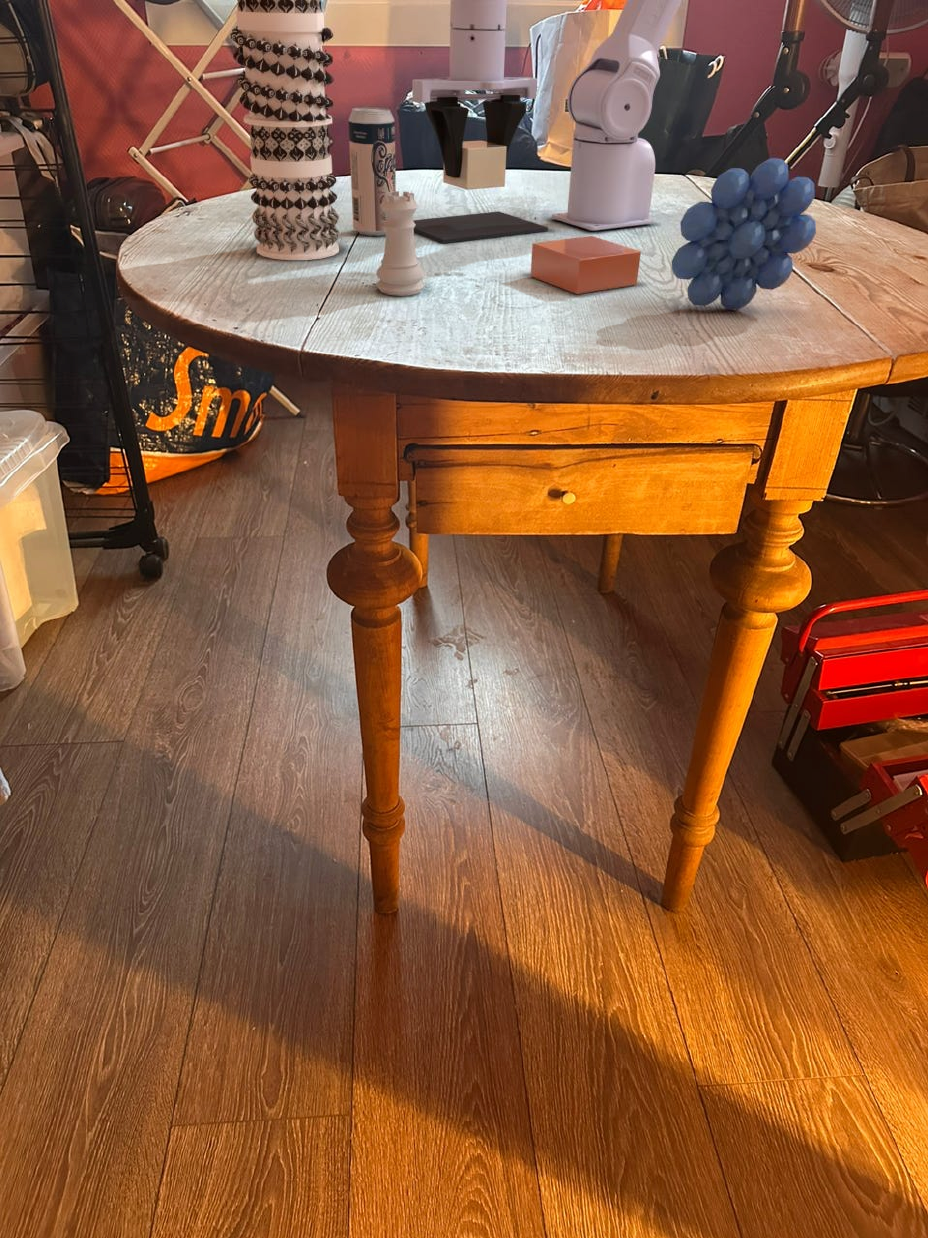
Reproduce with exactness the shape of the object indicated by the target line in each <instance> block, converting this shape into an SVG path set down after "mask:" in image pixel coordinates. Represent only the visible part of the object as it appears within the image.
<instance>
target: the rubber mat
mask: <svg viewBox="0 0 928 1238" xmlns="http://www.w3.org/2000/svg"><path fill="white" fill-rule="evenodd" d="M413 222H414V223H415V224H416V225H415V227H414V233H415V234H419V235H421V236H424V237H426V238H428V239H431V240H433V241H436V242H438V243H441V244H448V243H449V244H450V243H458V242H467V241H475V240H483V239H490V238H491V239H493V238H498V237H499V238H500V237H509V236H516V235H518V236H519V235H525V234H533V233H534V234H535V233H542V232H548V230H549V227H548V226H545V225H542V224H540V223H536V222H532V221H530V220H526V219H524V218H521V217H517V216H514V215H512V214H508V213H505V212H502V211H487V212H480V213H470V214H461V215H452V216H451V215H450V216H440V217H434V218H433V217H432V218H431V217H430V218H424V219H415V220H414V219H413Z"/></svg>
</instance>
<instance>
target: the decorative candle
mask: <svg viewBox="0 0 928 1238" xmlns="http://www.w3.org/2000/svg"><path fill="white" fill-rule="evenodd" d="M236 1H237V10H236V11H235V15H236V16H235V17H236V26H235V27H234V28H232V30H231V32H230V35H229V36H230V39H231V40H232V41H233V42H234V43H236V44H237V45H238V47H237V48H236V49H235V50H234V52H233V53H232V58H233V59H234V60H235V61H236V63H237V64H239V65H240V66H242V67H244V69H243V70H242V72H241V73H239V74H238V76H237V79H236V83H237V85H238V86H239V87H240V88H241V89H242V90H244V91H243V92H242V94H241V96H240V97H239V99H238V100H239V103H240V104H241V106H242V107H243V108H244V109H245V110H247V111H248V113H247V114H244V116H243V123H244V124H246V125H248V128H249V131H250V134H249V139H250V147H251V154H250V158H249V159H250V169H251V174H252V175H251V176H250V177H249V178H248V182H249V184H250V185H251V186H252V187H254V188H255V191H254V192H253V193H252V194H251V195H250V199H251V201H252V202H253V203H254V204H256V205H257V207H256V209H255V210H254V212H253V213H252V215H251V217H252V218H251V219H252V221H253V223H254V224H255V225H256V226H257V227H256V228H255V229H254V231H253V236H254V238H255V240H256V241H257V242H259V243H257V245H256V253H257V254H258V255H260V256H261V257H265V258H269V259H272V260H281V261H309V260H319V259H320V260H321V259H326V258H329V257H333V256H335V255H337V254H338V253H340V247H339V246H340V245H339V243H337V241H338V239H339V236H340V230H339V229H338V228H337V226H336V225H337V224H338V221H339V218H340V216H339V214H338V212H337V211H336V209H335V208H334V207H333V206H332V204H334V203H336V202H337V199H338V195H337V194H336V192H334V191H333V190H332V189H331V188H332V187H334V186H335V184H336V183H337V177H336V176H335V175H333V174H332V173H333V162H332V161H333V160H332V154H331V153H330V140H329V138H330V137H329V125H331V124H333V116H332V115H330V114H328V113H327V112H328V111H329V110H330V109H332V108H333V107H334V101H333V99H332V98H330V97H329V96H328V94H326V92H325V89H326V87H327V89H328V87H329V85H331V84H333V83H334V80H335V79H334V76H333V75H332V74H330V72H328V71H327V69H328V67H329V66H331V65H332V64H333V63H334V62H333V61H334V58H333V57H334V56H333V55H332V54H330V53H329V52H328V51H327V49H325V50H324V51H323V46H324V45H325V42H328V41H329V40H331V39H333V38H334V32H333V31H332V29H331V28H330V27H325V16H324V14H325V13H324V12H322V11H323V10H322V0H236ZM324 68H325V70H324Z"/></svg>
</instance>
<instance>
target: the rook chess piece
mask: <svg viewBox="0 0 928 1238" xmlns="http://www.w3.org/2000/svg"><path fill="white" fill-rule="evenodd" d="M380 207H381V208H382V210H383V211H384V213H385V214H386V222H385V223H384V224H383V225H384V226H385V228H386V235H385V241H384V242H385V243H384V253H383V257H382V259H381V260H380V266H379V267H378V268H377V270H376V273H375V274H376V277H378V279H379V280H378V281H376V283H375V286H376V287H377V288H378V289H377V290H379V291H380V293H382V294H384V295H388V296H393V297H405V296H406V297H407V296H413V295H417V294H420V293H421V292H422V291H423V289H424V288H425V286H426V283H424V281H423V280H422V279H423V278H424V276H425V271H424V269H423V267H421V265H420V260H419V259H418V256H417V251H416V246H415V237H414V236H415V235H414V234H415V232H414V227H415V225H416V224H415V223H414V222H413V220H414V214H415V213H416V211H417V209H418V208H419V205H418V203H417V202H416V201H415V193H413V192H409V191H402V195H400V191H399V190H396V191H393V196H392V195H391V192H386V193H385V194H384V201H383V202H382V204H381V205H380Z"/></svg>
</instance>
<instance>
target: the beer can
mask: <svg viewBox="0 0 928 1238" xmlns="http://www.w3.org/2000/svg"><path fill="white" fill-rule="evenodd" d="M395 124H396V123H395V118H394V116H393V114H392V112H391V109H389V108H386V107H385V108H384V107H354V108H352V109H351V112H350V114H349V117H348V139H349V140H348V143H349V144H348V145H349V162H350V163H349V164H350V165H349V167H350V186H351V209H352V228H353V230H355V231H357V233H359V234H360V235H363V236H372V237H376V236H377V237H379V236H386V228H385V226H384V225H383V224H384V223H385V222H386V214H385V213H384V211H383V210H382V208H381V207H380V205H381V204H382V202H383V201H384V194H385V193H386V192H391V195H392V196H393V191H397V179H396V177H397V176H396V174H397V173H396V125H395Z"/></svg>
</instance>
